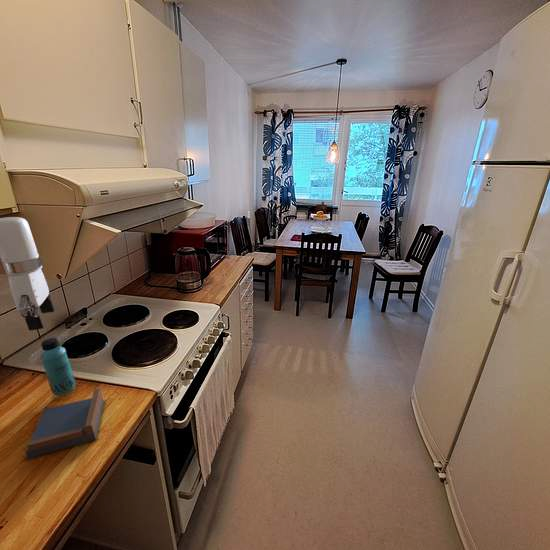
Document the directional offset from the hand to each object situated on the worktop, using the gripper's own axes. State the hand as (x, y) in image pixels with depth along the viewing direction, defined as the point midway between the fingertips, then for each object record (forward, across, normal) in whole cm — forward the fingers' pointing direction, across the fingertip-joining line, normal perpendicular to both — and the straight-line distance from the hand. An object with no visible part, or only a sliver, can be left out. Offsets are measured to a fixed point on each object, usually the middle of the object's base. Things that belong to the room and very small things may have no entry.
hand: (42, 320), depth 82 cm
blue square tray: (+27, +16, +4) cm, 31 cm away
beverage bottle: (+27, 0, -1) cm, 27 cm away
